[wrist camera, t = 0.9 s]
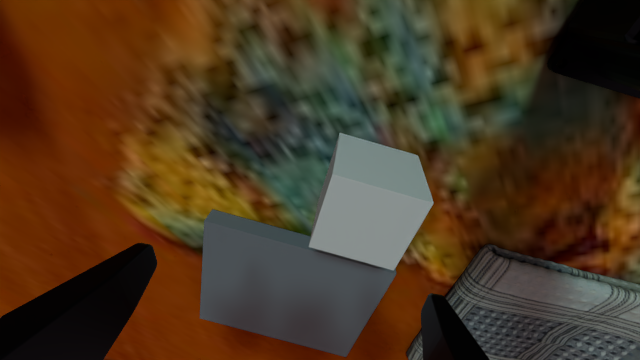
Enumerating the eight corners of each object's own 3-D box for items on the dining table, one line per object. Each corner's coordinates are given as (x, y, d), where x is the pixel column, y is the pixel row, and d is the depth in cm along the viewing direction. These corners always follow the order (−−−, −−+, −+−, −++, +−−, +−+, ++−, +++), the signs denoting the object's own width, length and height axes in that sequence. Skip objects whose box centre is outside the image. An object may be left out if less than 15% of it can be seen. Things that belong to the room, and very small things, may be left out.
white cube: (417, 154, 20) (433, 203, 15) (387, 215, 23) (393, 270, 18) (339, 132, 20) (332, 174, 15) (319, 195, 23) (308, 246, 18)
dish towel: (400, 348, 33) (403, 380, 30) (481, 233, 24) (496, 265, 21) (560, 388, 33) (577, 423, 31) (705, 290, 24) (749, 328, 21)
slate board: (394, 259, 25) (396, 273, 24) (346, 343, 33) (345, 357, 32) (212, 209, 25) (204, 220, 24) (206, 305, 32) (199, 318, 31)
